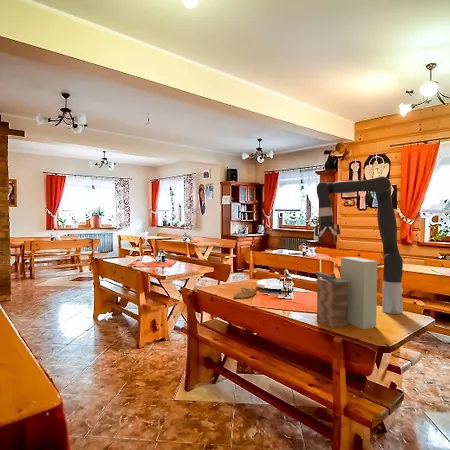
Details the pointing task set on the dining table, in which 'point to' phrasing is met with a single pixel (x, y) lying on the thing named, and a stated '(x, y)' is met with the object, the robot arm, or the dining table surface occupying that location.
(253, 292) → the tan rounded lump
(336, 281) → the spatula
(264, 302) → the dining table surface
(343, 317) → the wood grain box
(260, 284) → the plate
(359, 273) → the tall pale grey box
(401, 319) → the dining table surface
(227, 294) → the dining table surface
